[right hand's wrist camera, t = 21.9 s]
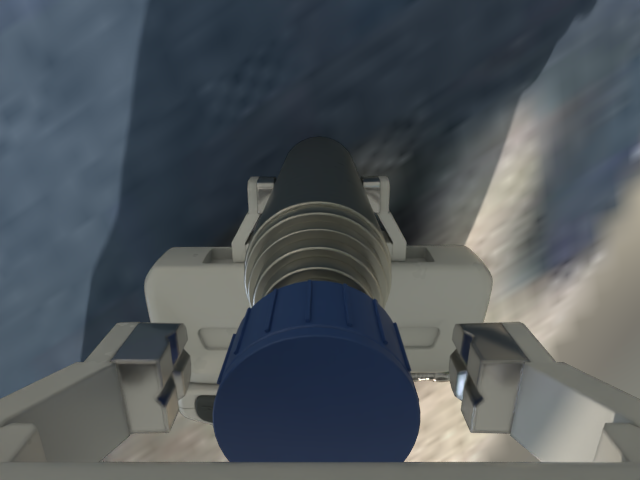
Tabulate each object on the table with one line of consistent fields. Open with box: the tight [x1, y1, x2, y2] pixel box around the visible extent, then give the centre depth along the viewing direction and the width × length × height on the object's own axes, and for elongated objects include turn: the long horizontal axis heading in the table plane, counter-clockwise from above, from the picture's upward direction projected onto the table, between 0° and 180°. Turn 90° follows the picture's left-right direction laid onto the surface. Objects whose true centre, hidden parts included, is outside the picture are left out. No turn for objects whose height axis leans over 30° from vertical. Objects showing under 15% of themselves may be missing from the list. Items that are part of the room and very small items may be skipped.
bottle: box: [244, 137, 392, 309], centre depth 19 cm, size 5×5×22 cm
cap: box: [212, 280, 420, 462], centre depth 9 cm, size 4×4×2 cm
